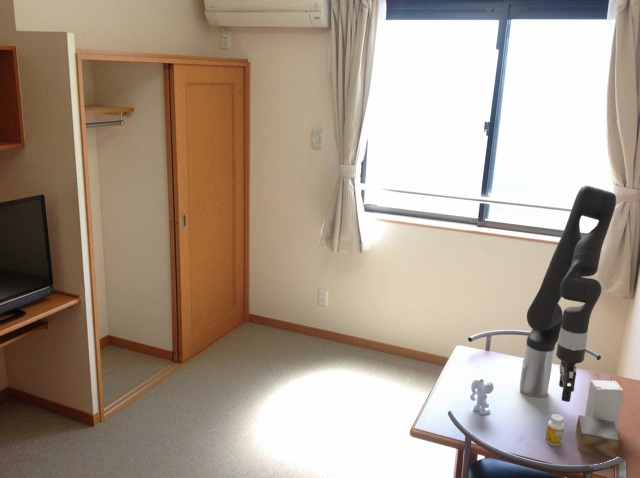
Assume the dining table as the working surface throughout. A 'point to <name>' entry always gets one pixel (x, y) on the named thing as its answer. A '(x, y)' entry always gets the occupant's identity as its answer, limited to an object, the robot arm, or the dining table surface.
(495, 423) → the dining table surface
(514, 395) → the dining table surface
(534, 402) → the dining table surface
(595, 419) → the walnut block
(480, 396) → the toy figurine
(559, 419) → the supplement bottle
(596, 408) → the skincare box
